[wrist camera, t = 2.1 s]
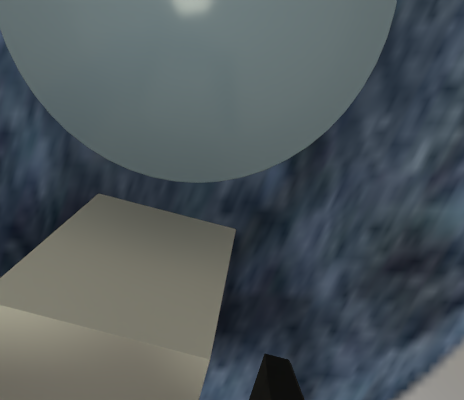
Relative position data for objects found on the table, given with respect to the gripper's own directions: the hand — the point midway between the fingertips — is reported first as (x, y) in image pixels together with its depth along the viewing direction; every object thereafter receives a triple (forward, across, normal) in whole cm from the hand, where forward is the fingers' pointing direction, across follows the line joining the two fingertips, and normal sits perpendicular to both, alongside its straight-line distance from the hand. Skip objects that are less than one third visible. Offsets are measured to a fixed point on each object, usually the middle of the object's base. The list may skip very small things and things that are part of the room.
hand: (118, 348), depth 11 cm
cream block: (+4, 0, 0) cm, 4 cm away
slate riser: (+4, 0, -8) cm, 9 cm away
